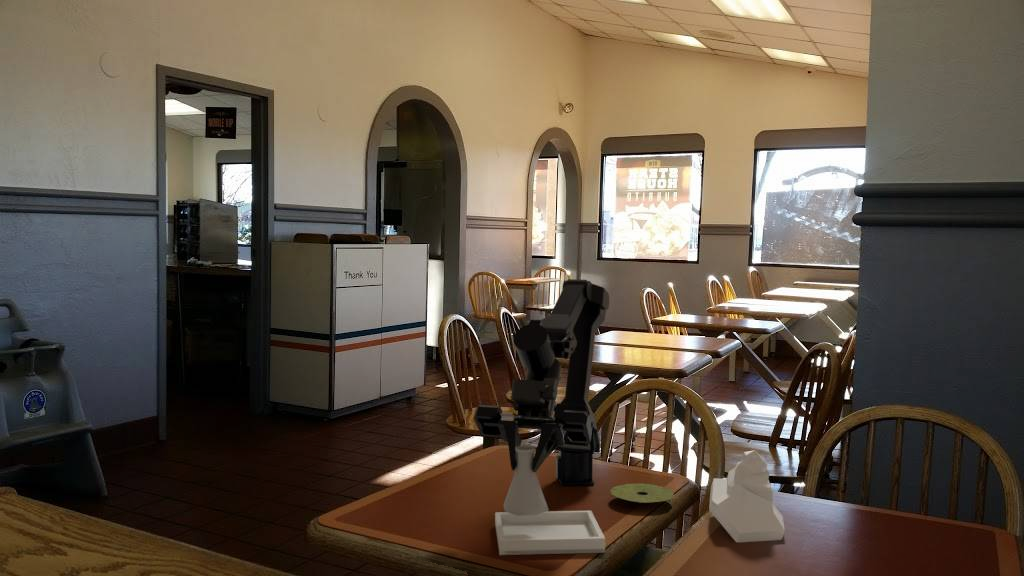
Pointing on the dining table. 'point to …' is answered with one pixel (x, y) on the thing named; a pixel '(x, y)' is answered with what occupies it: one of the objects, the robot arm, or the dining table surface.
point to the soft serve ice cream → (747, 502)
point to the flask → (525, 486)
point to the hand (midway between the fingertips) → (523, 470)
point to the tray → (548, 533)
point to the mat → (642, 493)
